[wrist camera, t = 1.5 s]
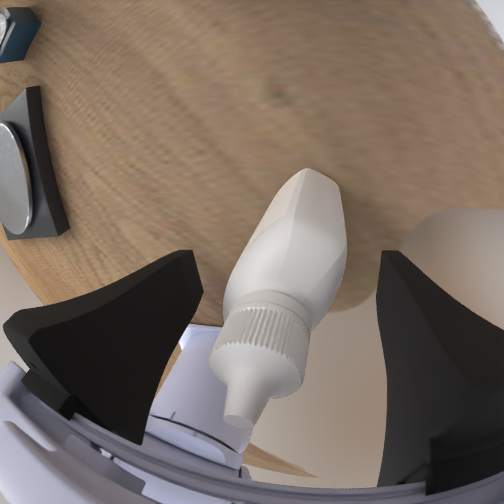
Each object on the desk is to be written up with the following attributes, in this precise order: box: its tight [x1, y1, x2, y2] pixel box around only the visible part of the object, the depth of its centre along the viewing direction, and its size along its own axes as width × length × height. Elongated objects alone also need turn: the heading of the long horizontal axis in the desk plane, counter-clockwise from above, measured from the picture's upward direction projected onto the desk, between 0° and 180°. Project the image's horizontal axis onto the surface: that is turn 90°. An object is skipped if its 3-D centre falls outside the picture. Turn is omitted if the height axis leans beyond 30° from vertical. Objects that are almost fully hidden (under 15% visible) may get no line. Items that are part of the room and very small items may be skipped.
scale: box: [0, 86, 70, 240], centre depth 19 cm, size 14×14×2 cm
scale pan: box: [0, 122, 33, 234], centre depth 18 cm, size 12×12×1 cm
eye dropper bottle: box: [209, 168, 347, 429], centre depth 10 cm, size 4×6×12 cm
